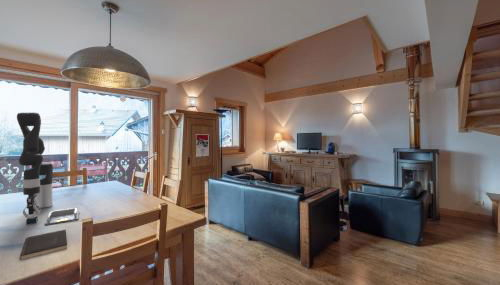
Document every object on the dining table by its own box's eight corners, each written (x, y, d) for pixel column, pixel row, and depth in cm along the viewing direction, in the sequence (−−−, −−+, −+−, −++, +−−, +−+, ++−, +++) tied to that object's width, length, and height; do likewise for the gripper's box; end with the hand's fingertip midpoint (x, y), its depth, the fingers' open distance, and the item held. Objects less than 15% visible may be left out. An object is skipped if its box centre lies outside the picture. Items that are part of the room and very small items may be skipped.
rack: (49, 216, 149) (48, 210, 148) (79, 212, 158) (79, 206, 158) (44, 225, 134) (44, 219, 134) (78, 220, 143) (78, 213, 143)
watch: (40, 222, 139) (39, 205, 139) (22, 225, 134) (21, 207, 134) (41, 219, 143) (41, 202, 143) (24, 222, 139) (24, 204, 138)
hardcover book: (65, 233, 125) (65, 229, 125) (67, 249, 107) (67, 244, 107) (25, 241, 114) (25, 237, 114) (19, 260, 97) (19, 255, 97)
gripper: (25, 184, 142) (26, 211, 142) (20, 189, 130) (20, 217, 131) (41, 183, 146) (42, 208, 147) (37, 187, 135) (38, 215, 135)
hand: (32, 212), depth 139 cm, fingers open, 5 cm apart
